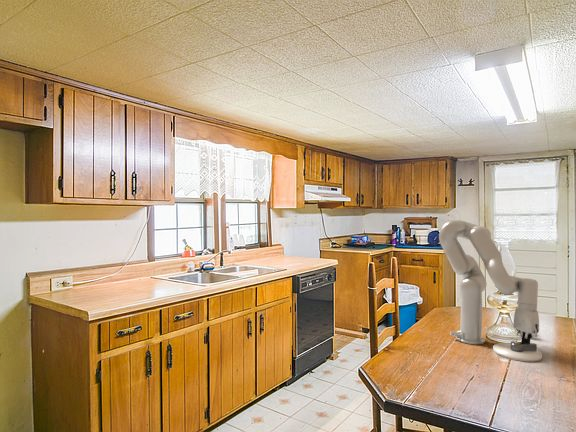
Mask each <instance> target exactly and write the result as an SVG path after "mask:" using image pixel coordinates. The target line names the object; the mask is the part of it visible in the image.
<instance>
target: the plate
mask: <svg viewBox="0 0 576 432" xmlns="http://www.w3.org/2000/svg"><path fill="white" fill-rule="evenodd" d="M492 351H493V353H495V354H496V355H498V356H500V357H503V358H505V359H508V360H512V361H516V362H524V363H526V362H527V363H533V362H535V363H537V362H539V361H541V360H542V359H543V354H542V352H541V351H540V350H537V351H523V352H516V351H513V350H511V342H510V343H509V342H501V343H500V342H499V343H495V344H493V346H492Z"/></svg>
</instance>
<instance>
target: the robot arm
mask: <svg viewBox="0 0 576 432" xmlns="http://www.w3.org/2000/svg"><path fill="white" fill-rule="evenodd" d="M458 237H459V238H462V239H465V240H468V241H470V243H471V244H472V246H473V248H474V249H475V251H476V252H477V254H478V256H479V257H480V259H481V261H482V262H483V265H484V267H485V269H486V272H487V274H488V276H489V277H490V279H491V281H492V283H493V284H494V286H495V288H496V289H497V291H498V292H500V293H501V294H503V295H508V296H509V295H510V296H511V295H512V294H514V293H517V301H516V304H517V306H516V307H515V310H514V314H513V315H514V316H513V322H512V323H513V328H514V329H515V331H516V330H517V331H518V334H520V335H519V336H520V338H521V343H531V340H532V338H537V337H539V336H538V334H539V331H540V317H539V310H538V294H539V293H538V292H539V290H538V289H539V284H538V280H536V279H534V278H523V277H522V278H521V277H518V276H513V275H509V273H508V271H507V270H506V268H505V265H504V263H503V259H502V258H503V257H502V254H501V252H500V250H499V249H498V247H497V245H496V244H495V243H494V241H493V239H492V234H491V231H490V229H489V228H487V227H486V226H482V225H478V224H475V223H472V222H471V223H470V222H467V221H465V220H461V219H460V220H459V219H456V220H455V219H454V220H449V221H447V222H445V223H444V224H443V225H442V227H441V228H440V230H439V234H438V240H439V243H440V246H441V248H442V249H443V252H444V253H445V256H446V258H447V260H448V262H449V264H450V266H451V268H452V270H453V272H454V273H455V274H457V275H460V276H461V277H462V278H463V279H462V281H461V283H460V284H459V292H460V293H459V294H460V321H459V322H460V324H459V325H460V327H459V328H458V330H456V331H451V330H450V331H449V335H450V336H454V337H456V340H457V341H459V342H461V343H463V344H468V345H469V344H470V345H475V346H476V345H477V346H478V345H483V344H485V343H486V340H485V338H484V337H482V331H483V330H482V329H483V327H482V325H483V292H484V291H485V290H486V288H487V287H488V286H487V280H486V278H485V275H484V274H483V272H482V269H481V267H480V266H479V264H478V262H477V261H476V259H475V258H474V257H473V256H471V255H470V254H466V252H465V250H464V249H463V246H462V244H461V243H460V242H459V240H458Z"/></svg>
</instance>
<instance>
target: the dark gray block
mask: <svg viewBox="0 0 576 432" xmlns="http://www.w3.org/2000/svg"><path fill="white" fill-rule="evenodd" d="M510 343H511V350H513V351H516V352H523V351H537V348H538V347H537V346H538V345H537V344H536V343H533V342H530V343H522V341H521V342H520V341H513V340H512V341H510Z"/></svg>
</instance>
